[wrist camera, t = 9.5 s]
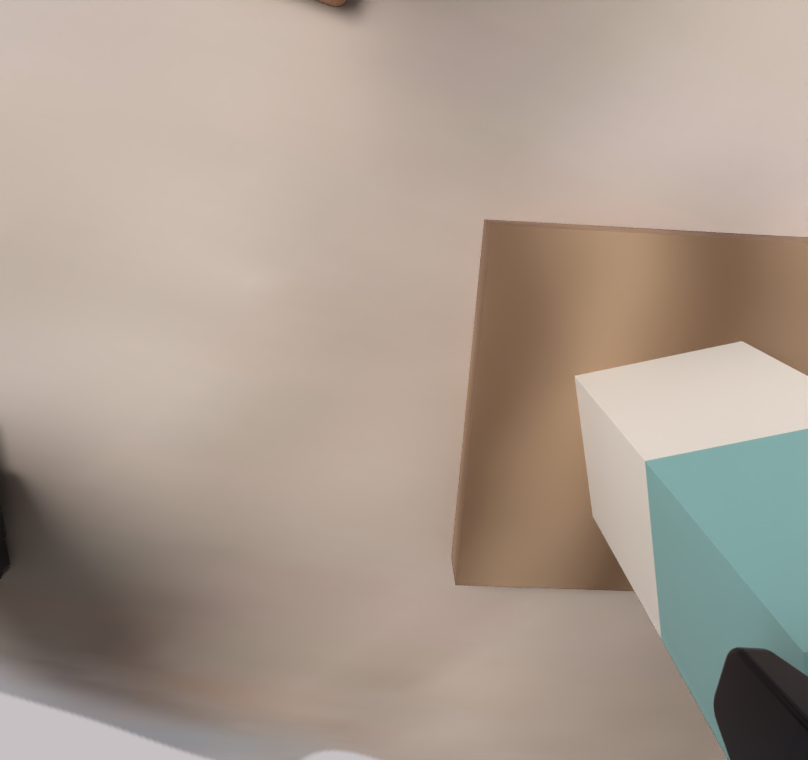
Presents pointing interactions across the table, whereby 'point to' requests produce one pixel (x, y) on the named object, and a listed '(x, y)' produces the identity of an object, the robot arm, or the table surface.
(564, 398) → the board
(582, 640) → the table surface
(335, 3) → the gingerbread man figurine
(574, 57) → the table surface
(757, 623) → the block
